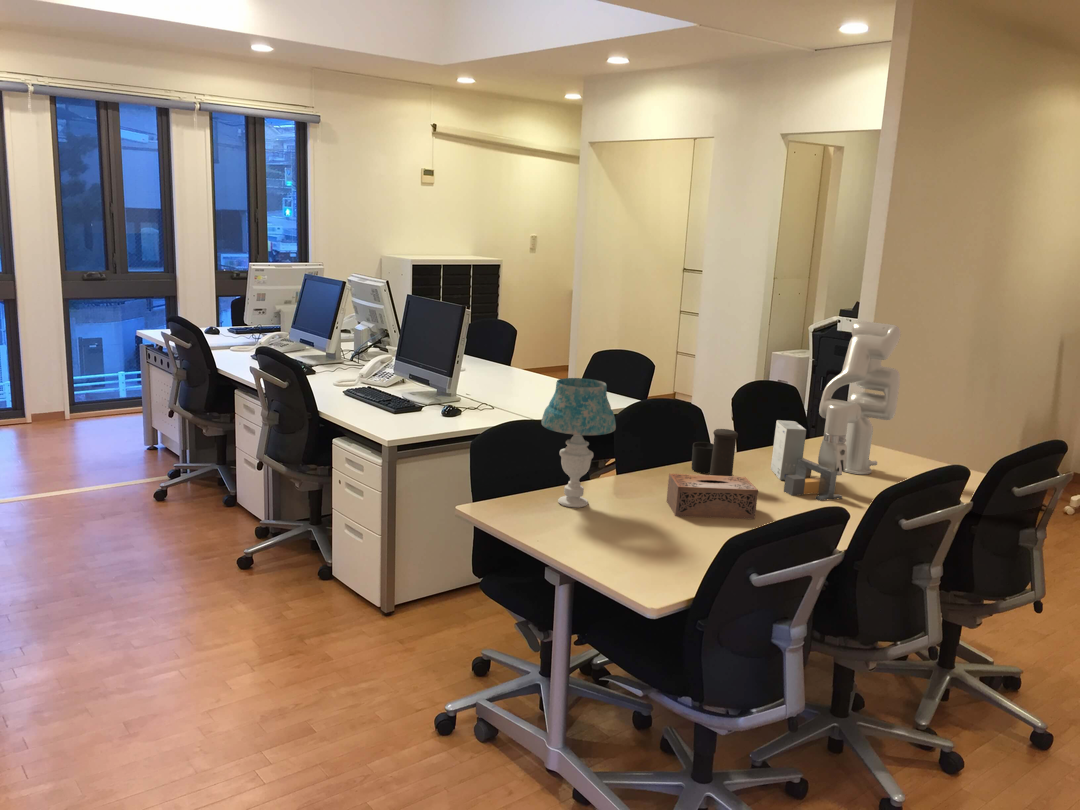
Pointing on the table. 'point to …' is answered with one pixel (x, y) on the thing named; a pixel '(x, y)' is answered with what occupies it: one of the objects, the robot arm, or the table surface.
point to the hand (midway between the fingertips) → (827, 487)
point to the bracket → (826, 478)
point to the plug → (800, 485)
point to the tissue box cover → (712, 496)
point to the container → (723, 452)
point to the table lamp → (578, 428)
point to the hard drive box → (787, 448)
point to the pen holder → (702, 457)
